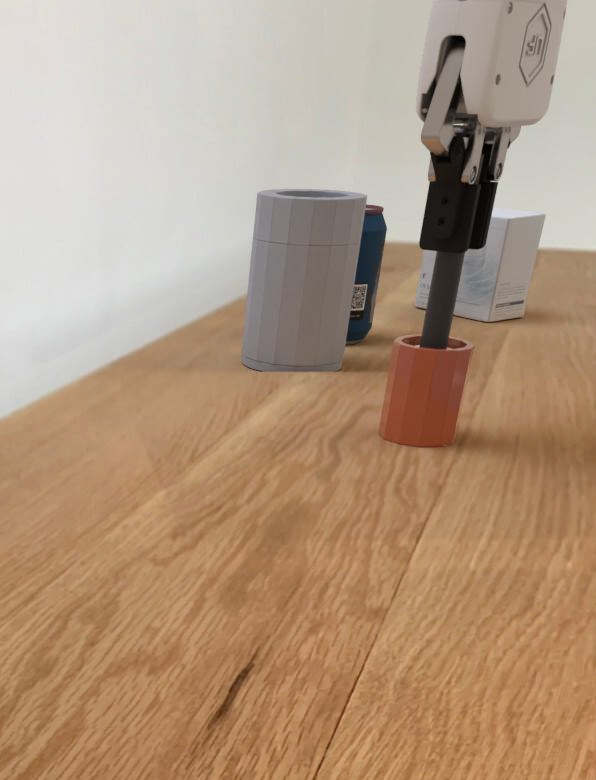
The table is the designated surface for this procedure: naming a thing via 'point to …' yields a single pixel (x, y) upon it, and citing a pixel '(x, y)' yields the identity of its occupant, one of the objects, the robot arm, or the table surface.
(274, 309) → the grey cylindrical canister
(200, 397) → the table surface
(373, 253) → the soda can
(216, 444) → the table surface
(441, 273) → the dark grey rod
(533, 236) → the cosmetics box
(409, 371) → the brush pot
